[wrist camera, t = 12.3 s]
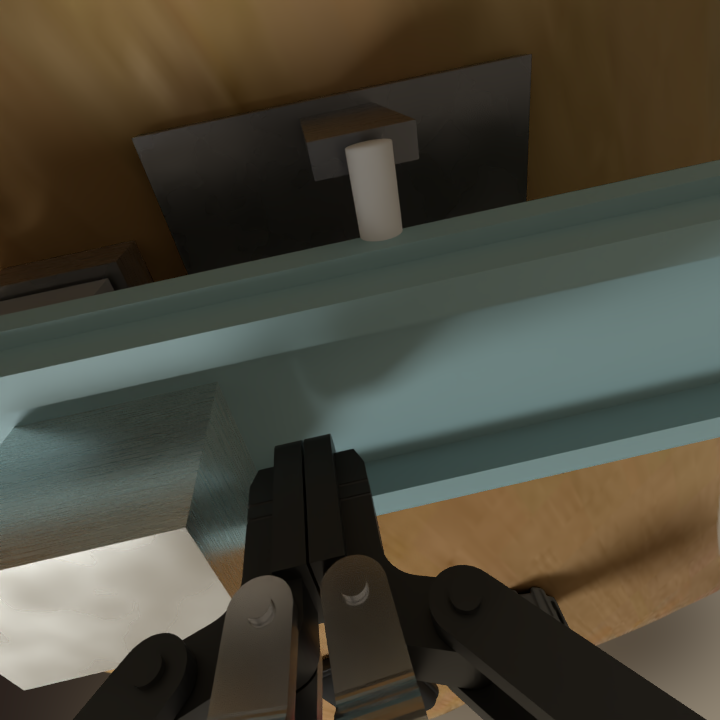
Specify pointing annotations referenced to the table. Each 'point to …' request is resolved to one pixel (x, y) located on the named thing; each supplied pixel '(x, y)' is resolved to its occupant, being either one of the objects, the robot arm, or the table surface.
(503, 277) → the seesaw beam
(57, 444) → the steel slider
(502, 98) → the beam stand
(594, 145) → the table surface
